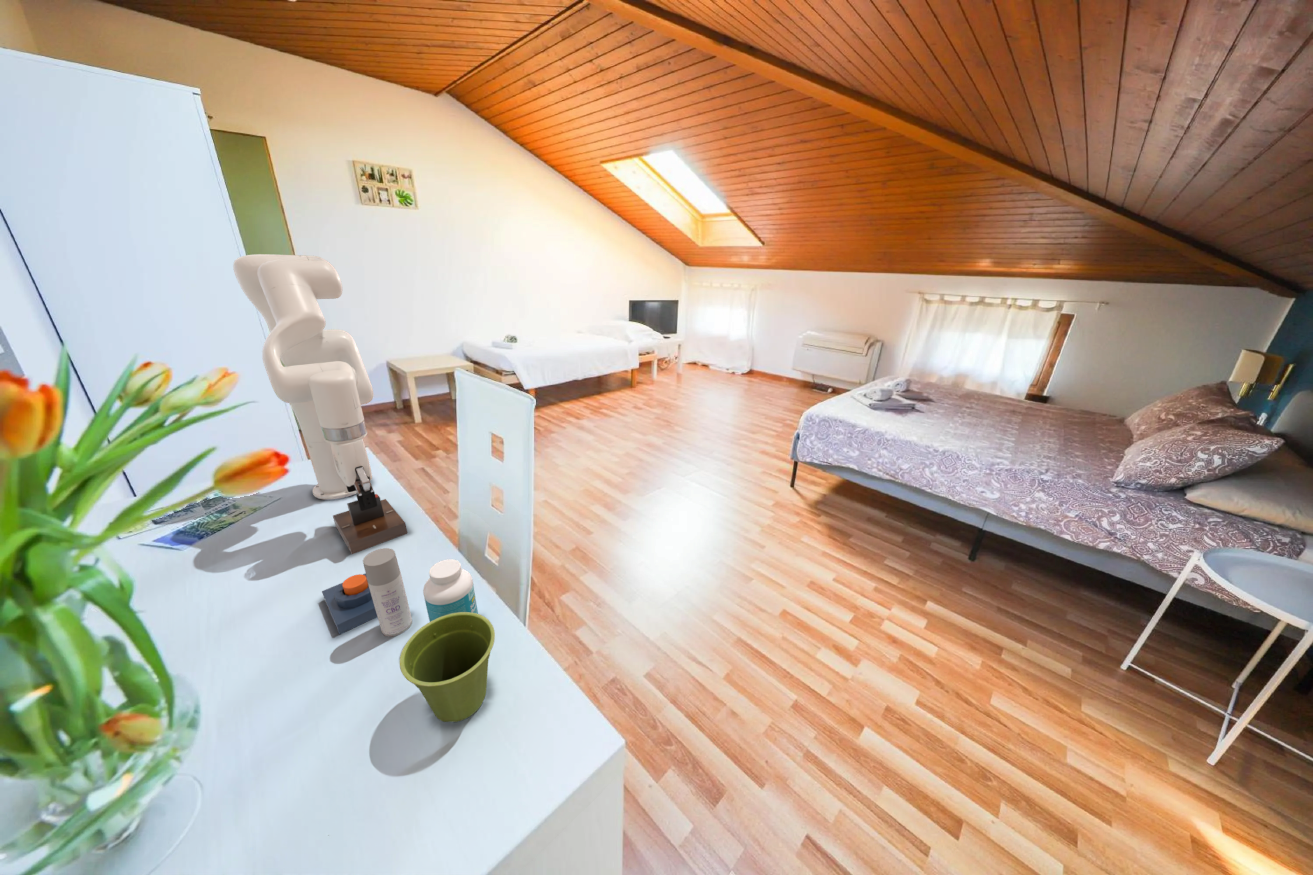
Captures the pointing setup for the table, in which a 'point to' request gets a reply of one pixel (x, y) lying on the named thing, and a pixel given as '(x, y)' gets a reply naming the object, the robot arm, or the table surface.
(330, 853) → the table surface
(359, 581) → the button
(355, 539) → the brown wooden switch base
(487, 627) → the plant pot
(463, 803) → the table surface
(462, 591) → the pill bottle
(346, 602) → the button block
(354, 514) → the black boxy piece
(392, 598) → the container
